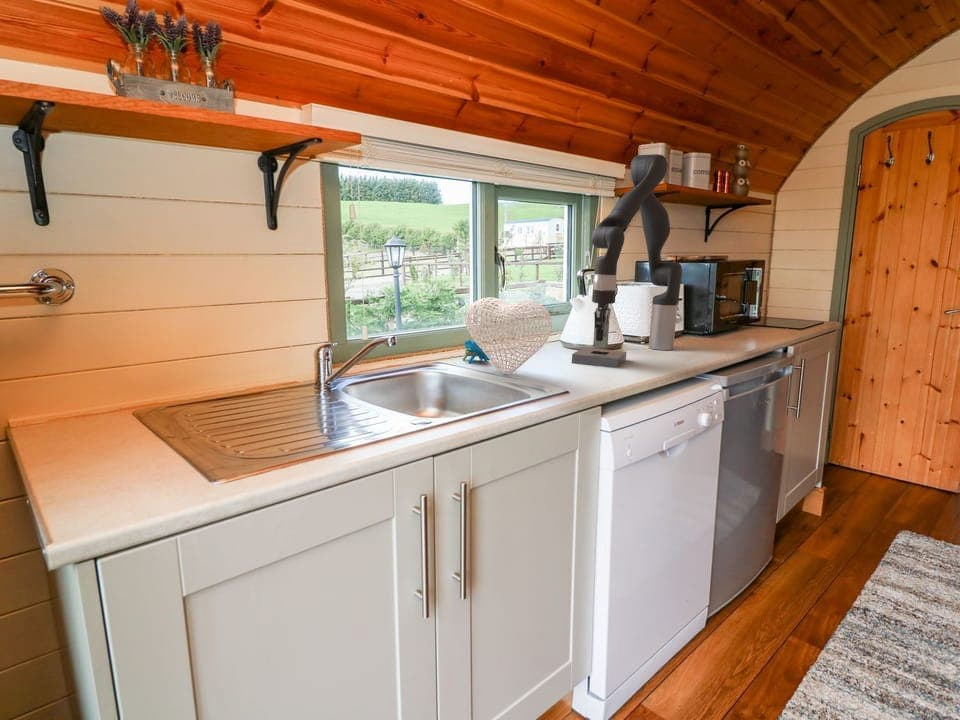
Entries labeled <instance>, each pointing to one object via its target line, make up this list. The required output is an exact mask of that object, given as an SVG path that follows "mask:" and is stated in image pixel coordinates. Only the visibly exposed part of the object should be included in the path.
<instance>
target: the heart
mask: <svg viewBox="0 0 960 720" xmlns="http://www.w3.org/2000/svg"><path fill="white" fill-rule="evenodd" d="M496 305H497V306H496ZM484 307H485V308H484ZM533 308H534V309H533ZM482 312H483V313H482ZM486 314H487V315H486ZM465 316H466V317H465V324H466V328H467V332H468V333H469V335H470V337H471V338H472V339H473V340H472V341H475V342H476V344H477V345H478V346H479V347H480V348H481V349H482V351H483V352H484V353H485V354H486V355H487V357H488V358H489V359H490V363H492V364H493V366H494V367H495V368H496V369H497V370H498V371H499V372H500V373H502V374H504V375H510V374H512V373H515V372H516V371H517V370H519V368H520V367H522V366H523V365H524V364H525V363H526V362H527V361H528V360H530V358H532V357H533V356H534V355H535V354H536V353H538V352H539V351H541V349H542V348H543V347H544V346H545V344H546V342H547V341H548V340H549V338H550V336H551V333H552V326H553V323H552V317H551V315H550V312H549V311H548V310H547V308H545V307H544V305H542V304H539V303H538V302H534V301H530V300H529V301H528V300H527V301H526V300H525V301H524V300H523V301H519V302H514V303H509V302H508V301H506V300H503V299H500V298H498V297H491V296H490V297H489V296H487V297H483V298H480V299H477V300H476V301H474V302H473V303H472V304H471V305H470V306H469V308H468V310H467V312H466V315H465ZM534 317H536V318H534ZM530 318H531V319H530ZM523 319H524V320H523ZM491 321H492V322H491ZM536 323H537V326H536ZM540 323H541V324H540ZM527 324H528V325H527ZM531 324H533V326H532V325H531ZM482 325H483V327H482ZM520 325H521V326H520ZM486 326H487V327H486ZM510 326H511V327H510ZM516 328H517V329H516ZM536 329H537V332H536ZM540 329H541V330H540ZM532 330H533V332H532ZM481 331H482V333H481ZM528 331H529V332H528ZM511 333H512V334H511ZM515 333H516V335H515ZM539 336H540V337H539ZM531 337H532V338H531ZM513 338H514V340H513ZM494 340H495V341H494ZM502 340H503V341H502ZM479 344H480V345H479ZM515 348H516V349H515ZM486 351H487V352H486ZM517 354H518V355H517Z"/></svg>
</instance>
